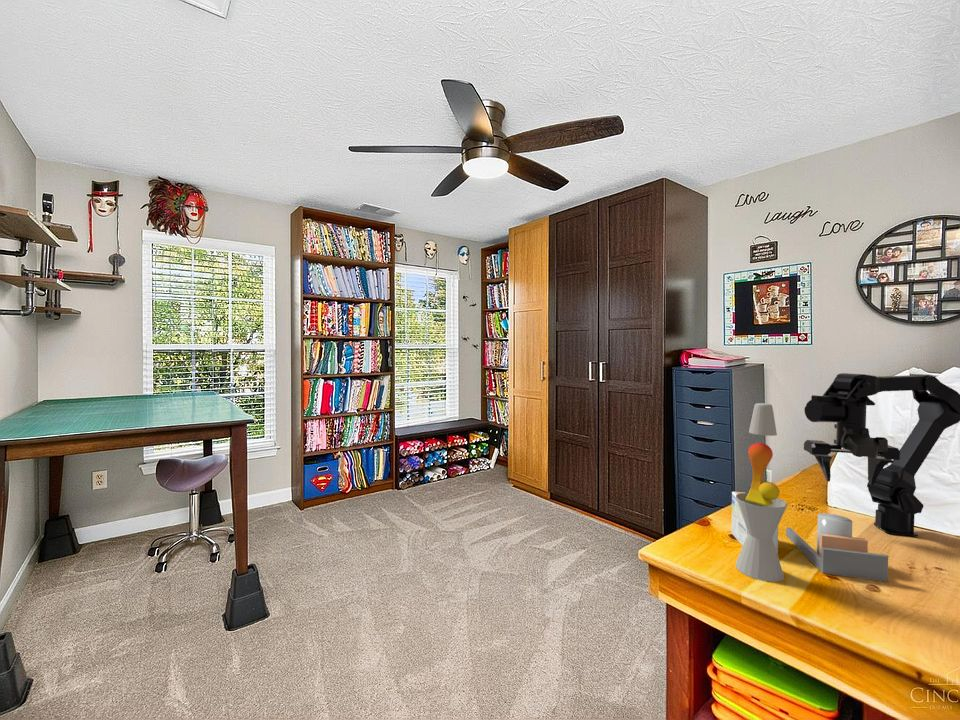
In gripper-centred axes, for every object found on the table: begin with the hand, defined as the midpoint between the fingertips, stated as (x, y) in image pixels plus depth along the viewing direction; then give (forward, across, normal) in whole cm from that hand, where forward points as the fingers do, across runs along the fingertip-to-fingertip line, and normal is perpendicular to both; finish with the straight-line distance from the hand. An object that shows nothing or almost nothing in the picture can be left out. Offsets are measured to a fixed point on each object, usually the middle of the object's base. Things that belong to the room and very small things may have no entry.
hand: (849, 482), depth 114 cm
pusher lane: (+12, -11, -18) cm, 25 cm away
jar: (+12, -11, -19) cm, 25 cm away
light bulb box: (+13, -26, -16) cm, 33 cm away
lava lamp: (+13, -29, -31) cm, 44 cm away
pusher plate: (+12, -11, -23) cm, 28 cm away
